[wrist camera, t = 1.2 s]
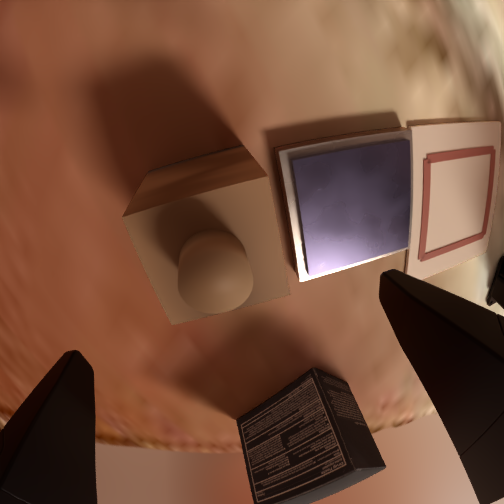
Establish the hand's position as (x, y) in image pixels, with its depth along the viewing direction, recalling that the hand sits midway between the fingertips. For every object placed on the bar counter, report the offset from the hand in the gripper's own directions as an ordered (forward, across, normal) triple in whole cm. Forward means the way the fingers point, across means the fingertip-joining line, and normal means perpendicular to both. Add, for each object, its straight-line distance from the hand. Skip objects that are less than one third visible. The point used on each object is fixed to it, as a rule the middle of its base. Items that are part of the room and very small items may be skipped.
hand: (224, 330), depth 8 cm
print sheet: (+10, -17, +4) cm, 20 cm away
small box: (+10, -2, +22) cm, 24 cm away
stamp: (+10, 0, 0) cm, 10 cm away
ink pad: (+10, -8, +2) cm, 13 cm away
